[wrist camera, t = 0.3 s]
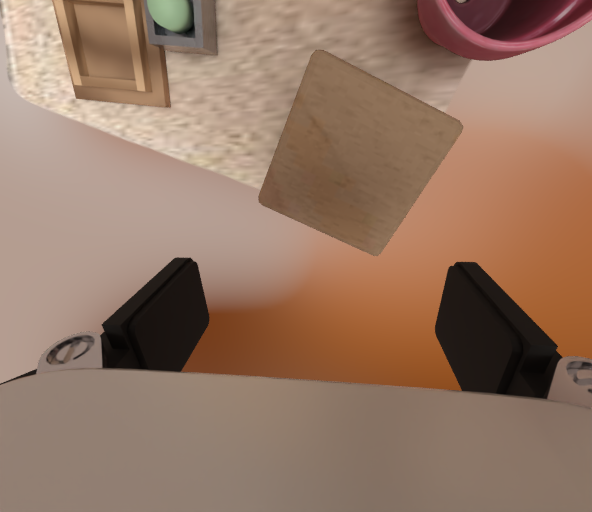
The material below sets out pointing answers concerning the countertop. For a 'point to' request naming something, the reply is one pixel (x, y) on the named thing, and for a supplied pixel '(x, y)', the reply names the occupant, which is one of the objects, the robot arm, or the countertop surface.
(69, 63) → the brown wooden square tray
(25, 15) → the countertop surface
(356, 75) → the wooden block
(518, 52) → the plant pot
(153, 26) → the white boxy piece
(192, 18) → the button
